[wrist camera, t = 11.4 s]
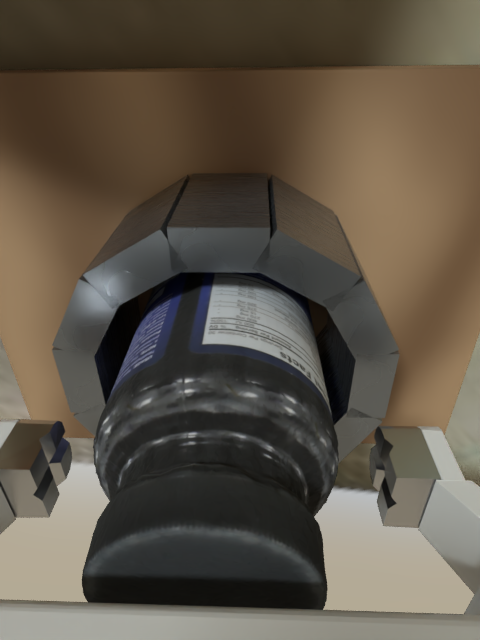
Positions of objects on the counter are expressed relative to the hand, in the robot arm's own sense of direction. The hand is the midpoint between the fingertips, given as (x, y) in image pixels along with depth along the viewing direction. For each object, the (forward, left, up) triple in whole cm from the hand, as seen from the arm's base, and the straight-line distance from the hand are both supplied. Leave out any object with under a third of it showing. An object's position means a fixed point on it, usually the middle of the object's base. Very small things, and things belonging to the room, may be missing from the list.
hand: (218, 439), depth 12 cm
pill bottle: (0, 0, -7) cm, 7 cm away
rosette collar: (0, 0, -7) cm, 7 cm away
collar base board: (0, 0, -9) cm, 9 cm away
